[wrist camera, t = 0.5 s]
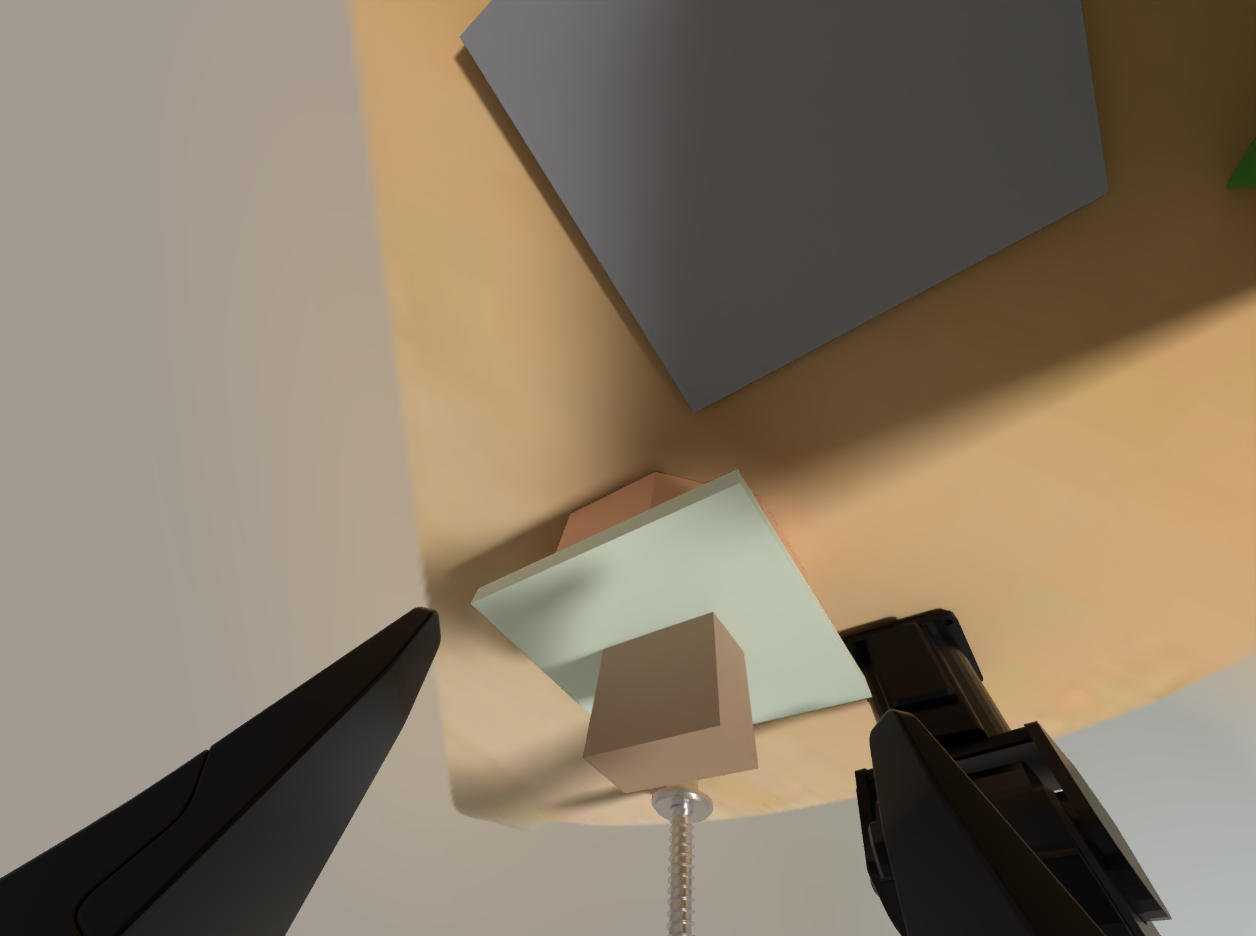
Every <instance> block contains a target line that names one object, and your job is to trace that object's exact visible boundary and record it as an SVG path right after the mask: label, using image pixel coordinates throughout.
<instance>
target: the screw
mask: <svg viewBox="0 0 1256 936" xmlns="http://www.w3.org/2000/svg"><path fill="white" fill-rule="evenodd" d="M652 806H653V808H654V809H655V810H656V811H657V813H658V814H659V815H661V816H662V817H664V818H666V819H668V820H670V823H671V824H672V826H671V827H670V829H669V830H670V833H671V834H672V835H671V836H670V838H669V841H670V842H671V844H672V845H671V846H670V847H669V851H670V852H671V855H670V856H669V861H670V863H671V866H670V867H669V868H668V870H669V872H670V873H671V876H670V877H669V878H668V882H669V883H670V888H669V889H668V893H669V894H670V899H669V900H668V901H667V903H668V905H669V906H670V910H669V911H668V912H667V916H668V917H669V919H670V921H669V923H668V924H667V929H668V930H669V935H668V936H694V935H693V934H692V926H693V925H695V923H694V922H693V921H692V914H693V913H694V912H695V911H694V910H693V909H692V902H693V901H695V900H694V899H693V898H692V891H693V890H694V889H695V888H693V886H692V880H693V879H694V876H692V869H693V868H694V866H693V865H692V859H693V858H694V855H692V849H693V848H694V845H692V839H693V838H694V836H693V835H692V830H693V829H694V826H692V823H696V822H700V821H703V820H705V819H706V818H707V817H708V816H709V815H710V814H711V813H712V811H713V802H712V800H711V799H710V798H709V797H708V796H707V795H706V794H704V793H702V792H700V791H699V790H698V781H697V780H694V781H689V782H684V783H678V784H673V785H668V786H666V787H665V788H662V789H659V790H657V791H656V792H655V793H654V794H653V795H652Z"/></svg>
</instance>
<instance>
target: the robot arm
mask: <svg viewBox="0 0 1256 936" xmlns="http://www.w3.org/2000/svg"><path fill="white" fill-rule="evenodd" d="M440 641H441V632H440V622H439V614H438V612H437V611H436V610H433V609H428V608H424V607H417V608H414V609H412V610H411V611H410V612H408V613H407V614H405V615H404V616H402V617H401V618H399V619H398V620H396V621H395V622H393V623H392V624H390V625H389V626H387V627H386V628H384V629H383V630H381V631H380V632H379V633H377V634H376V635H374V636H373V637H371V638H370V639H368V640H367V641H365V642H364V643H362V644H361V645H359V646H358V647H356V648H355V649H353V650H352V651H351V652H349V653H348V654H346V655H345V656H343V657H342V658H340V659H339V660H337V661H336V662H334V663H333V664H331V665H330V666H328V667H327V668H325V669H324V670H322V671H321V672H320V673H318V674H317V675H315V676H314V677H312V678H311V679H309V680H308V681H306V682H305V683H303V684H302V685H300V686H299V687H297V688H296V689H294V690H293V691H292V692H290V693H289V694H287V695H286V696H284V697H283V698H282V699H280V700H278V701H277V702H275V703H274V704H272V705H271V706H269V707H268V708H267V709H265V710H264V711H262V712H261V713H259V714H258V715H256V716H255V717H253V718H252V719H250V720H249V721H247V722H246V723H244V724H243V725H241V726H240V727H238V728H237V729H236V730H234V731H233V732H231V733H230V734H228V735H227V736H225V737H224V738H222V739H221V740H220V741H218V742H216V743H215V744H213V745H212V746H211V747H210V750H205V751H203V752H201V753H200V754H198V755H197V756H195V757H194V758H193V759H191V760H190V761H188V762H187V763H185V764H184V765H182V766H181V767H179V768H178V769H176V770H175V771H174V772H172V773H170V774H169V775H167V776H166V777H164V778H163V779H161V780H160V781H158V782H157V783H155V784H153V785H152V786H150V787H149V788H147V789H146V790H144V791H143V792H141V793H140V794H138V795H137V796H135V797H134V798H132V799H131V800H129V801H127V802H126V803H124V804H122V805H121V806H119V807H118V808H116V809H115V810H113V811H111V812H110V813H108V814H106V815H105V816H103V817H101V818H100V819H98V820H96V821H95V822H93V823H92V824H90V825H88V826H87V827H85V828H84V829H82V830H80V831H79V832H77V833H75V834H74V835H72V836H70V837H69V838H67V839H65V840H64V841H62V842H60V843H59V844H57V845H55V846H54V847H52V848H50V849H49V850H47V851H45V852H44V853H42V854H40V855H39V856H37V857H35V858H34V859H32V860H30V861H29V862H27V863H25V864H24V865H22V866H20V867H19V868H17V869H15V870H13V871H12V872H10V873H8V874H7V875H5V876H4V877H2V878H0V936H285V934H286V933H287V931H288V929H289V928H290V925H291V924H292V922H293V920H294V919H295V917H296V915H297V913H298V912H299V910H300V908H301V906H302V904H303V903H304V901H305V899H306V898H307V896H308V894H309V892H310V890H311V889H312V887H313V885H314V883H315V882H316V880H317V878H318V876H319V875H320V873H321V871H322V869H323V867H324V866H325V864H326V862H327V860H328V859H329V857H330V855H331V853H332V852H333V850H334V848H335V846H336V845H337V843H338V841H339V839H340V838H341V836H342V834H343V832H344V831H345V829H346V827H347V825H348V823H349V822H350V820H351V818H352V816H353V815H354V813H355V811H356V809H357V808H358V806H359V804H360V802H361V800H362V799H363V797H364V795H365V794H366V792H367V790H368V788H369V786H370V785H371V783H372V781H373V779H374V778H375V776H376V774H377V772H378V770H379V769H380V767H381V765H382V763H383V762H384V760H385V758H386V756H387V755H388V753H389V751H390V749H391V748H392V746H393V744H394V742H395V741H396V739H397V737H398V735H399V733H400V731H401V730H402V728H403V726H404V724H405V722H406V720H407V718H408V715H409V713H410V711H411V709H412V707H413V704H414V702H415V700H416V697H417V695H418V693H419V691H420V689H421V686H422V684H423V682H424V679H425V677H426V675H427V673H428V670H429V668H430V666H431V664H432V661H433V659H434V657H435V655H436V652H437V650H438V648H439V645H440ZM842 641H843V642H844V644H845V646H846V647H847V649H848V651H849V652H850V654H851V655H852V657H853V659H854V660H855V662H856V664H857V665H858V667H859V669H860V670H861V672H862V673H863V675H864V677H865V679H866V681H867V684H868V687H869V689H870V692H871V695H872V697H870V698H866V699H867V700H868V702H869V704H870V706H871V708H872V711H873V714H874V717H875V719H876V722H877V724H876V725H875V727H874V728H873V729H872V731H871V734H870V750H871V757H872V764H873V768H872V769H869V770H867V769H865V768H864V769H860V770H857V771H855V777H856V785H857V788H856V792H857V799H858V806H859V813H860V821H861V828H862V835H863V843H864V850H865V856H866V864H867V870H868V873H869V876H870V881H871V885H872V887H873V890H874V892H875V893H876V894H877V895H878V896H879V897H880V899H881V901H882V904H883V906H884V908H885V910H886V912H887V914H888V916H889V918H890V919H891V921H892V922H893V924H894V926H895V927H896V929H897V930H898V932H899V933H900V934H901V936H1161V935H1160V934H1159V932H1158V931H1157V929H1156V928H1155V926H1154V925H1153V923H1152V922H1151V921H1158V920H1170V919H1171V916H1170V914H1169V913H1168V911H1167V909H1166V907H1165V906H1164V904H1163V902H1162V901H1161V899H1160V897H1159V896H1158V894H1157V892H1156V891H1155V889H1154V888H1153V886H1152V884H1151V882H1150V881H1149V879H1148V878H1147V876H1146V874H1145V873H1144V871H1143V869H1142V868H1141V866H1140V864H1139V863H1138V861H1137V859H1136V858H1135V856H1134V854H1133V853H1132V851H1131V849H1130V848H1129V846H1128V844H1127V843H1126V841H1125V839H1124V838H1123V836H1122V835H1121V833H1120V831H1119V830H1118V828H1117V826H1116V825H1115V824H1114V822H1113V820H1112V819H1111V817H1110V816H1109V814H1108V813H1107V812H1106V810H1105V809H1104V808H1103V806H1102V805H1101V803H1100V802H1099V800H1098V799H1097V797H1096V796H1095V795H1094V793H1093V792H1092V791H1091V789H1090V788H1089V786H1088V785H1087V783H1086V782H1085V780H1084V779H1083V778H1082V776H1081V775H1080V774H1079V772H1078V771H1077V769H1076V768H1075V766H1074V765H1073V764H1072V763H1071V762H1070V760H1069V759H1068V758H1067V757H1066V756H1065V754H1064V753H1063V752H1062V751H1061V750H1060V748H1059V747H1058V746H1057V745H1056V744H1055V742H1054V741H1053V740H1052V739H1051V737H1050V736H1049V735H1048V734H1047V733H1046V731H1045V730H1044V729H1043V728H1042V727H1041V725H1040V724H1039V723H1038V722H1037V721H1035V722H1031V723H1028V724H1024V726H1025V727H1022V728H1019V729H1015V730H1011V729H1010V728H1009V726H1008V724H1007V723H1006V721H1005V720H1004V718H1003V716H1002V715H1001V713H1000V711H999V710H998V708H997V707H996V705H995V703H994V702H993V700H992V698H991V697H990V695H989V693H988V692H987V690H986V689H985V687H984V685H983V684H982V681H983V677H982V674H981V672H980V670H979V667H978V665H977V663H976V661H975V658H974V656H973V654H972V651H971V649H970V647H969V644H968V642H967V640H966V638H965V635H964V633H963V631H962V628H961V626H960V624H959V622H958V619H957V618H956V616H955V615H954V613H953V612H951V611H947V610H945V611H940V612H936V613H933V614H929V615H926V616H922V617H919V618H915V619H911V620H908V621H904V622H901V623H897V624H894V625H890V626H887V627H883V628H880V629H876V630H873V631H869V632H865V633H862V634H858V635H855V636H851V637H848V638H844V639H842ZM1059 789H1062V790H1063V791H1062V792H1057V793H1054V791H1055V790H1059Z"/></svg>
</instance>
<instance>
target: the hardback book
mask: <svg viewBox="0 0 1256 936" xmlns="http://www.w3.org/2000/svg"><path fill="white" fill-rule="evenodd" d="M1226 187H1233V188H1256V138H1255V139H1254V141H1253V143H1252V144H1251V146H1250V148H1249V149H1248V151H1247V153H1246V154H1245V156H1244V158H1243V159H1242V161H1241V163H1240V164H1239V166H1238V168H1237V169H1236V171H1235V173H1234V174H1233V176H1232V178H1231V179H1230V181H1229V183H1228V184H1227V186H1226Z"/></svg>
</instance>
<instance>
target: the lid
mask: <svg viewBox="0 0 1256 936" xmlns="http://www.w3.org/2000/svg"><path fill="white" fill-rule="evenodd" d="M470 604H471V605H472V606H473V607H474V608H476V609H477V610H478V611H479V612H480V613H481V614H482V615H483V616H484V617H485V618H486V619H487V620H488V621H490V622H491V623H492V624H493V625H494V626H495V627H496V628H497V629H498V630H499V631H500V632H501V633H502V634H504V635H505V636H506V637H507V638H508V639H509V640H510V641H511V642H512V643H513V644H514V645H515V646H516V647H518V648H519V649H520V650H521V651H522V652H523V653H524V654H525V655H526V656H527V657H528V658H529V659H530V660H532V661H533V662H534V663H535V664H536V665H537V666H538V667H539V668H540V669H541V670H542V671H543V672H544V673H546V674H547V675H548V676H549V677H550V678H551V679H552V680H553V681H554V682H555V683H556V684H557V685H558V686H560V687H561V688H562V689H563V690H564V691H565V692H566V693H567V694H568V695H569V696H570V697H571V698H572V699H574V700H575V701H576V702H577V703H578V704H579V705H580V706H581V707H582V708H583V709H584V710H585V711H586V712H588V713H589V714H590V715H591V718H590V723H589V729H588V734H587V739H586V745H585V750H584V755H583V758H584V759H585V760H586V761H587V762H589V763H590V764H591V765H592V766H593V767H594V768H596V769H597V770H598V771H599V772H600V773H601V774H603V775H604V776H605V777H606V778H607V779H608V780H610V781H611V782H612V783H613V784H614V785H615V786H617V787H618V788H619V789H620V790H621V791H622V792H624V793H631V792H636V791H641V790H646V789H652V788H657V787H662V786H668V785H673V784H678V783H684V782H689V781H694V780H699V779H705V778H710V777H715V776H721V775H726V774H731V773H736V772H742V771H747V770H752V769H758V761H757V753H756V745H755V737H754V729H753V724H757V723H761V722H765V721H770V720H774V719H778V718H783V717H787V716H792V715H796V714H800V713H805V712H809V711H813V710H818V709H822V708H826V707H831V706H835V705H840V704H844V703H848V702H853V701H857V700H861V699H866V698H870V697H872V695H871V692H870V689H869V687H868V684H867V681H866V679H865V677H864V675H863V673H862V672H861V670H860V669H859V667H858V665H857V664H856V662H855V660H854V659H853V657H852V655H851V654H850V652H849V651H848V649H847V647H846V646H845V644H844V642H843V641H842V639H841V637H840V636H839V634H838V633H837V631H836V629H835V628H834V626H833V624H832V623H831V621H830V619H829V618H828V616H827V615H826V613H825V611H824V610H823V608H822V606H821V605H820V603H819V601H818V600H817V598H816V597H815V595H814V593H813V592H812V590H811V588H810V587H809V585H808V583H807V582H806V580H805V579H804V577H803V575H802V574H801V572H800V570H799V569H798V567H797V565H796V564H795V562H794V561H793V559H792V557H791V556H790V554H789V552H788V551H787V549H786V547H785V546H784V544H783V542H782V541H781V539H780V538H779V536H778V534H777V533H776V531H775V529H774V528H773V526H772V524H771V523H770V521H769V520H768V518H767V516H766V515H765V513H764V511H763V510H762V508H761V506H760V505H759V503H758V502H757V500H756V498H755V497H754V495H753V493H752V492H751V490H750V488H749V487H748V485H747V484H746V482H745V480H744V479H743V477H742V475H741V474H740V472H739V470H738V469H736V470H733V471H731V472H729V473H727V474H725V475H723V476H720V477H718V478H716V479H714V480H712V481H710V482H707V483H705V484H703V485H701V486H699V487H697V488H695V489H692V490H690V491H688V492H686V493H684V494H682V495H679V496H677V497H675V498H673V499H671V500H669V501H666V502H664V503H662V504H660V505H658V506H656V507H653V508H651V509H649V510H647V511H645V512H643V513H640V514H638V515H636V516H634V517H632V518H630V519H627V520H625V521H623V522H621V523H619V524H617V525H614V526H612V527H610V528H608V529H606V530H604V531H601V532H599V533H597V534H595V535H593V536H591V537H588V538H586V539H584V540H582V541H580V542H578V543H575V544H573V545H571V546H569V547H567V548H565V549H562V550H560V551H558V552H556V553H554V554H552V555H549V556H547V557H545V558H543V559H541V560H539V561H536V562H534V563H532V564H530V565H528V566H526V567H523V568H521V569H519V570H517V571H515V572H513V573H510V574H508V575H506V576H504V577H502V578H500V579H497V580H495V581H493V582H491V583H489V584H487V585H484V586H482V587H480V588H479V589H478V590H477V592H476V594H475V596H474V598H473V600H472V601H471V603H470Z"/></svg>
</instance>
